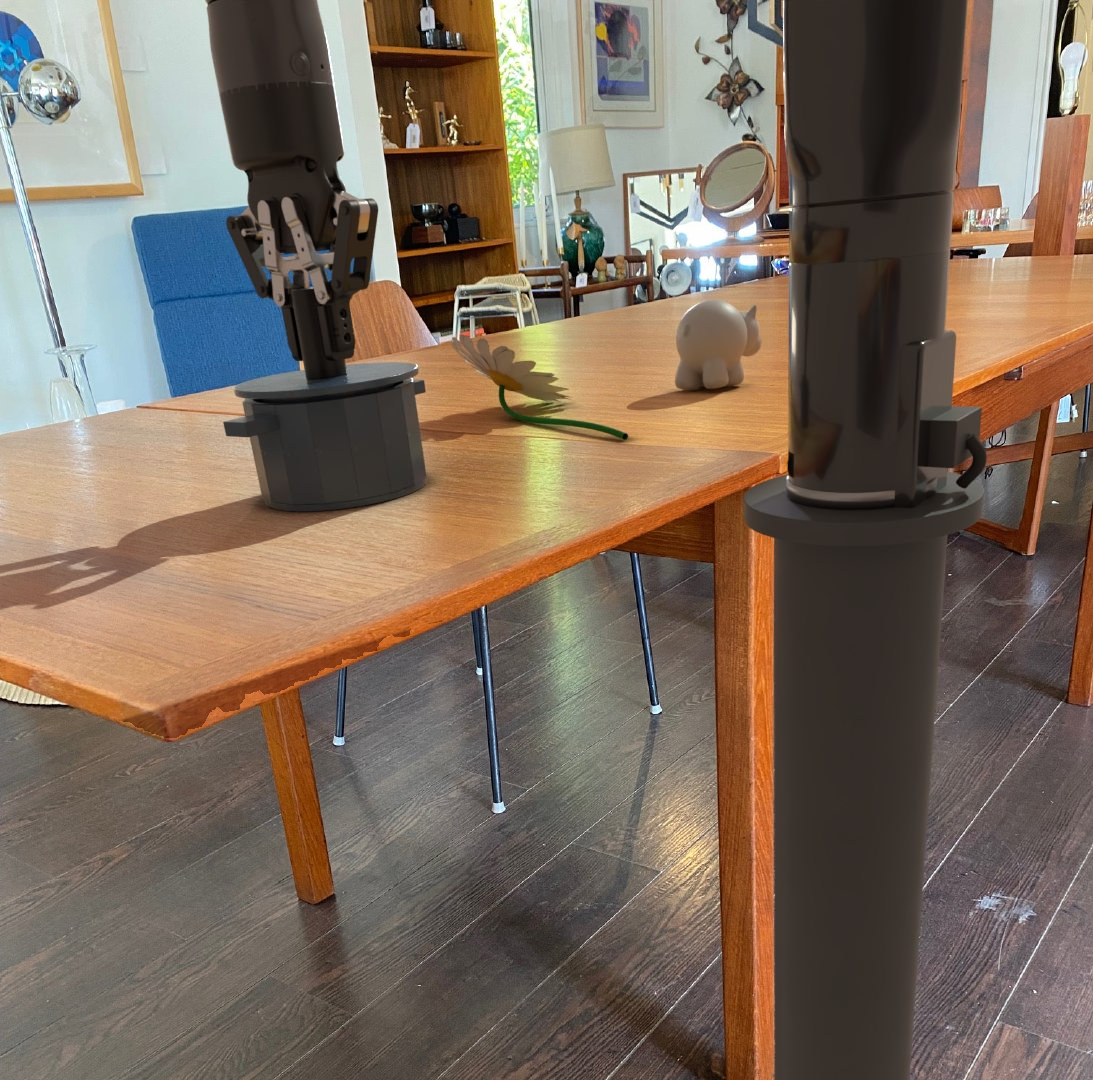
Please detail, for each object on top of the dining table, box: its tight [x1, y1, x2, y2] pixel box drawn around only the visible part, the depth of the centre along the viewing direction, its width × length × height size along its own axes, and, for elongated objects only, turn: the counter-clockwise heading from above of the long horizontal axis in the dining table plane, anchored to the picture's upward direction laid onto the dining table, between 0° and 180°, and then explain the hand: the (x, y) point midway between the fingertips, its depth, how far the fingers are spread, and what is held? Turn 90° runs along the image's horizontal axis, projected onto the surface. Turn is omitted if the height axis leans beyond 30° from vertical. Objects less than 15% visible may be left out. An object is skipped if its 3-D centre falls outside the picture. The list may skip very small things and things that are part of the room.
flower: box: [451, 334, 629, 441], centre depth 101 cm, size 13×6×30 cm
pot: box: [222, 377, 428, 512], centre depth 80 cm, size 12×18×8 cm
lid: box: [233, 286, 420, 403], centre depth 77 cm, size 13×13×7 cm
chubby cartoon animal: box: [674, 299, 763, 391], centre depth 110 cm, size 7×12×8 cm, turn 134°
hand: (323, 358), depth 78 cm, fingers closed on lid, 3 cm apart
